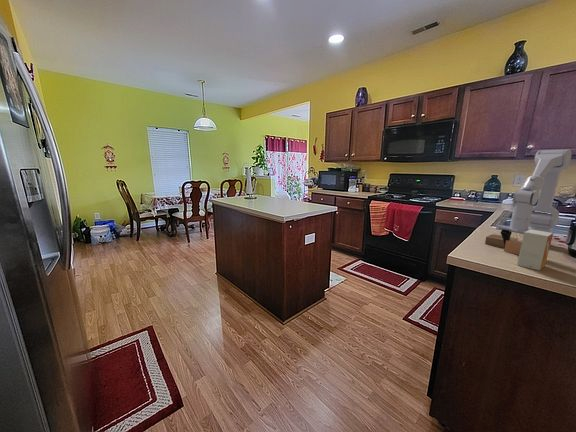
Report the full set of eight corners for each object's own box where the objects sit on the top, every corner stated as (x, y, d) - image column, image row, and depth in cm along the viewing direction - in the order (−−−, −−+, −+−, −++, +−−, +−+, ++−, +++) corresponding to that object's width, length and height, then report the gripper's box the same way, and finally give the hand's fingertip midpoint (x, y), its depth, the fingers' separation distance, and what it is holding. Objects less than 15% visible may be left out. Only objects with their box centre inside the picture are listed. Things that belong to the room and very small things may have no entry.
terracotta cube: (508, 249, 107) (510, 238, 106) (523, 252, 102) (525, 241, 101) (503, 251, 104) (506, 240, 103) (518, 255, 100) (521, 243, 99)
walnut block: (492, 241, 119) (493, 233, 118) (515, 246, 111) (517, 238, 110) (484, 244, 114) (486, 236, 113) (509, 250, 107) (510, 241, 106)
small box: (540, 271, 85) (548, 236, 82) (516, 265, 90) (523, 232, 87) (545, 266, 89) (553, 232, 86) (522, 260, 94) (529, 228, 91)
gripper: (495, 216, 104) (489, 245, 107) (541, 223, 92) (533, 256, 95) (502, 214, 108) (496, 243, 111) (547, 221, 96) (540, 253, 98)
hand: (514, 249), depth 103 cm, fingers closed on terracotta cube, 5 cm apart
